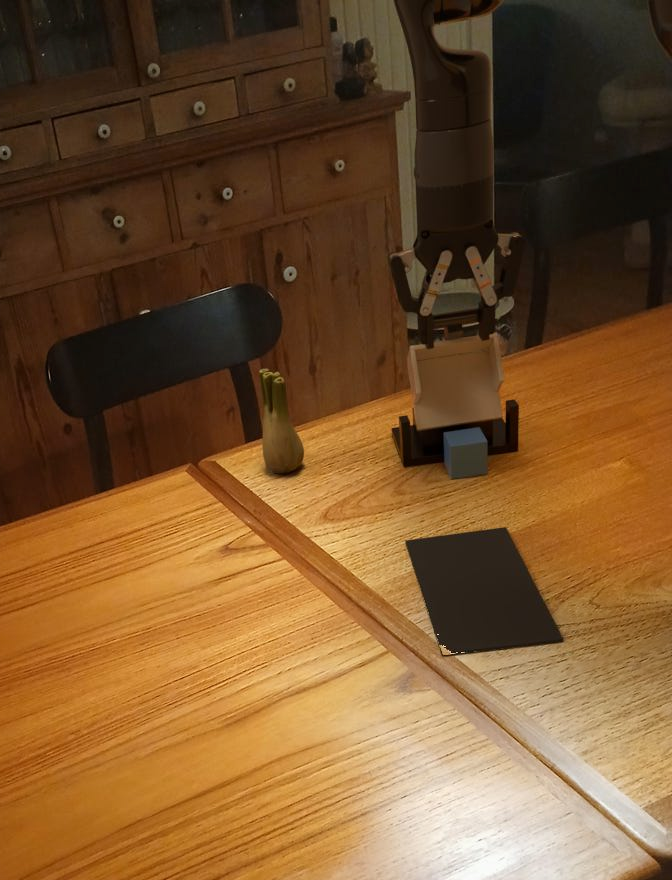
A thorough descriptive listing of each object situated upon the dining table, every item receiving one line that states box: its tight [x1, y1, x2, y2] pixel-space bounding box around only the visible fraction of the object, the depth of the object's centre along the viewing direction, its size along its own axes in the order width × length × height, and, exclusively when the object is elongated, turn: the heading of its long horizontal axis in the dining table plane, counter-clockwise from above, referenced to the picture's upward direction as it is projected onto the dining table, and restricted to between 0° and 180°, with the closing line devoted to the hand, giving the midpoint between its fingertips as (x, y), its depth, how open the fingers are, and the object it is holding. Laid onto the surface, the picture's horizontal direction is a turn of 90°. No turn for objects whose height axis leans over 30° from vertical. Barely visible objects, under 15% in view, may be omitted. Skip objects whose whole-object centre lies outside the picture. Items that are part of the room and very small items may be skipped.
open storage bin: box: [406, 306, 505, 431], centre depth 109 cm, size 10×11×7 cm
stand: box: [390, 399, 520, 468], centre depth 116 cm, size 13×10×6 cm
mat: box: [404, 526, 564, 654], centre depth 91 cm, size 10×20×1 cm, turn 179°
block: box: [443, 427, 488, 480], centre depth 110 cm, size 4×4×4 cm
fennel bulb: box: [258, 368, 305, 474], centre depth 116 cm, size 6×5×12 cm
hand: (456, 342), depth 107 cm, fingers closed on open storage bin, 5 cm apart
